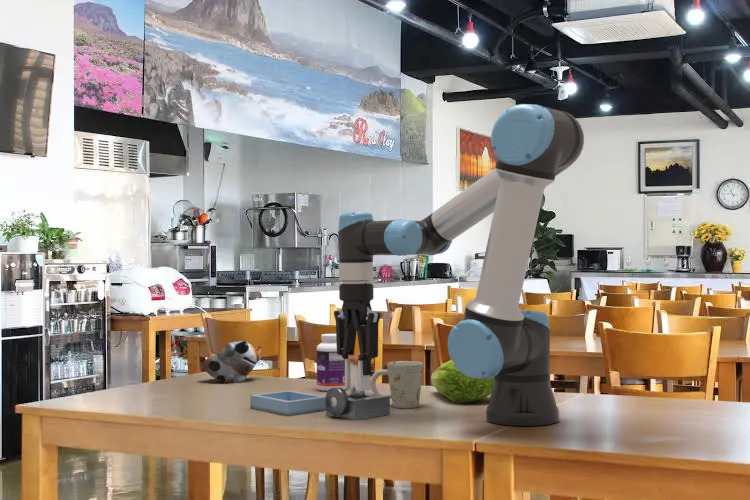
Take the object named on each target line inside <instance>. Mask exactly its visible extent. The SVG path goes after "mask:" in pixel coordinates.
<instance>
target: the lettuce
mask: <svg viewBox="0 0 750 500" xmlns="http://www.w3.org/2000/svg"><path fill="white" fill-rule="evenodd" d="M430 380H431V384H432V385H433V387H434V389H436V391H437V392H438V393H440V394H441V395H443V396H444V397H445V398H447V399H448V400H449V401H452V402H453V403H458V404H470V403H474V402H475V403H476V402H478V401H480V400H482V399H485V398H487V397H488V396H491V392H492V389H493V386H494V377H493V378H489V379H483V378H480V379H476V378H471V377H468V376H466V375H464V374H463V373H461V372H460V371H459V370H458V369H457V368H456V367H455V365H454V363H453V361H452V360H451V359H450V360H448V361H446V362H445V363H443V364H442V365H440V366H439V367H438V368H437V369H435V370H434V371H432V373H431V378H430Z"/></svg>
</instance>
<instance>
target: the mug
mask: <svg viewBox="0 0 750 500" xmlns="http://www.w3.org/2000/svg"><path fill="white" fill-rule="evenodd" d="M386 368H387V369H378V370H376V371H375V372H374V373H373V374H372V376H371V377H370V391H372V394H378V395H384V396H390V399H391V405H392V407H393V408H396V409H414V408H418V407H419V406H420V400H421V399H420V398H421V389H422V382H423V372H424V362H422V361H415V360H414V361H413V360H398V361H390V362H387V363H386ZM380 376H388V381H389V382H388V383H389V390H390V394H382V393H381V392H379V390H378V388H377V387H376V382H377V379H378V378H379V377H380Z"/></svg>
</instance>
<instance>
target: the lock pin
mask: <svg viewBox="0 0 750 500" xmlns="http://www.w3.org/2000/svg"><path fill="white" fill-rule="evenodd" d="M359 358H361V357H360V353H354V354H348V360H349V361H350V389H349V390H350V391H349V393H350V398H355V399H357V398H365V393H366V390H364V391H358V361H359V360H358V359H359Z"/></svg>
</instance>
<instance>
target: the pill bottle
mask: <svg viewBox="0 0 750 500" xmlns="http://www.w3.org/2000/svg"><path fill="white" fill-rule="evenodd" d="M320 339H321V341H322V342H320V343H319V344H318V345H317V346H316V348H315V349H316V352H315V353H316V388H317V390H319V391H322V392H328V390H329V389H331V388H336V387H341V388H342V389H344V390H345V391H346V389H345V373H344V358H342V356H341V355H338V354H337V341H336V333H324V334H323V333H322V334H321V336H320ZM342 349H343V348H342Z"/></svg>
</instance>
